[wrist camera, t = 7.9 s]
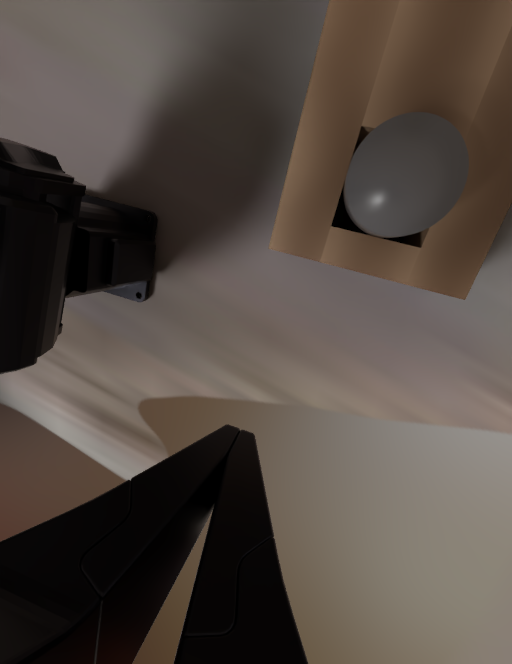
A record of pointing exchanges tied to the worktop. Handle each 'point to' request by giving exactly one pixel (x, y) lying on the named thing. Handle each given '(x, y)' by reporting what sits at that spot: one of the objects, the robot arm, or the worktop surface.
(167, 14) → the worktop surface
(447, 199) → the knob
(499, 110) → the mount
